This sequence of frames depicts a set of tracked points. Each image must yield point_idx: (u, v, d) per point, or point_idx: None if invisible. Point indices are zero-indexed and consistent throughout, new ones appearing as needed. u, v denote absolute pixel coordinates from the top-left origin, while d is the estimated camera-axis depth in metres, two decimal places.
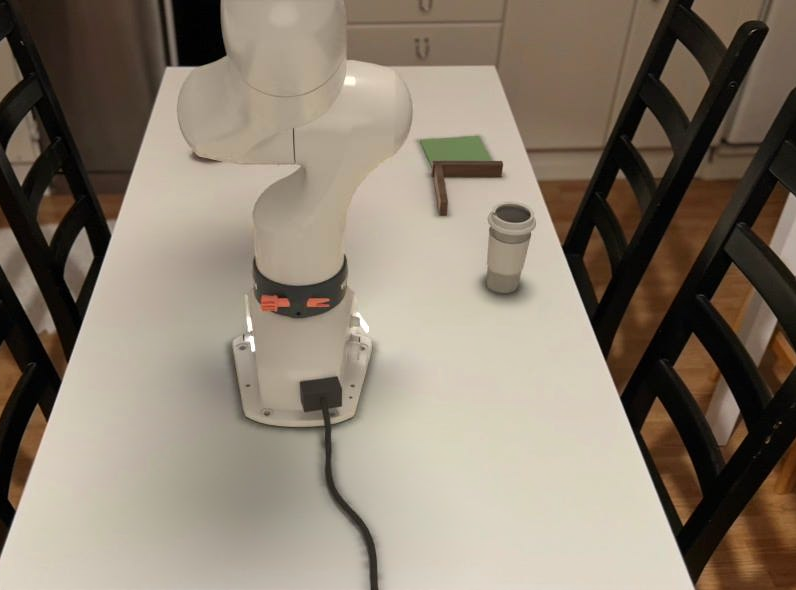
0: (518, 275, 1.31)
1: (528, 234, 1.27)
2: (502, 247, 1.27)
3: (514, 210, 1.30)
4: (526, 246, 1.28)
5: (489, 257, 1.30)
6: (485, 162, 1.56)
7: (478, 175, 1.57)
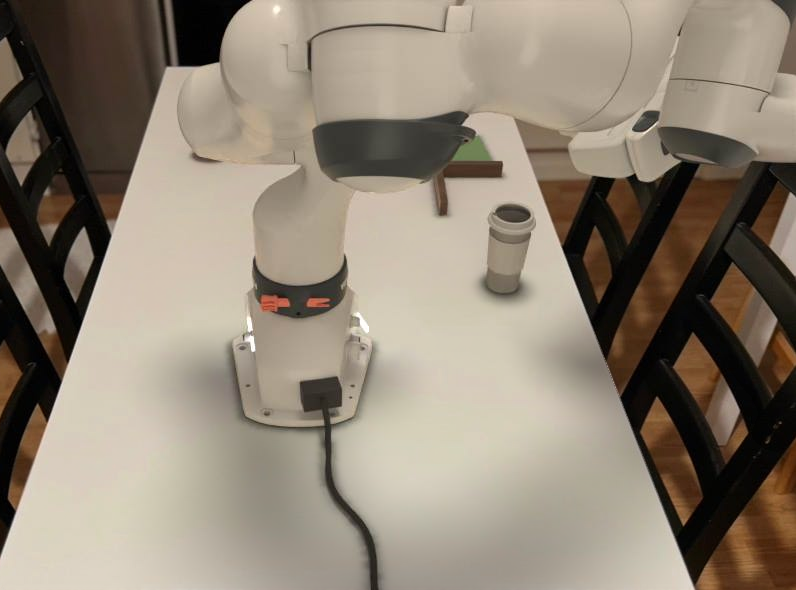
0: (518, 275, 1.31)
1: (528, 234, 1.27)
2: (502, 247, 1.27)
3: (514, 210, 1.30)
4: (526, 246, 1.28)
5: (489, 257, 1.30)
6: (485, 162, 1.56)
7: (478, 175, 1.57)
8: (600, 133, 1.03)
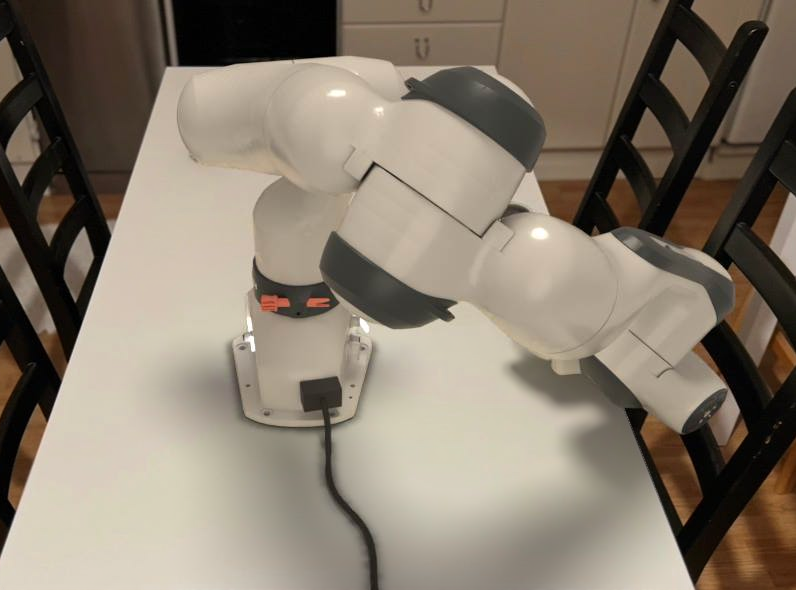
0: None
1: None
2: None
3: (514, 210, 1.30)
4: None
5: None
6: None
7: None
8: None
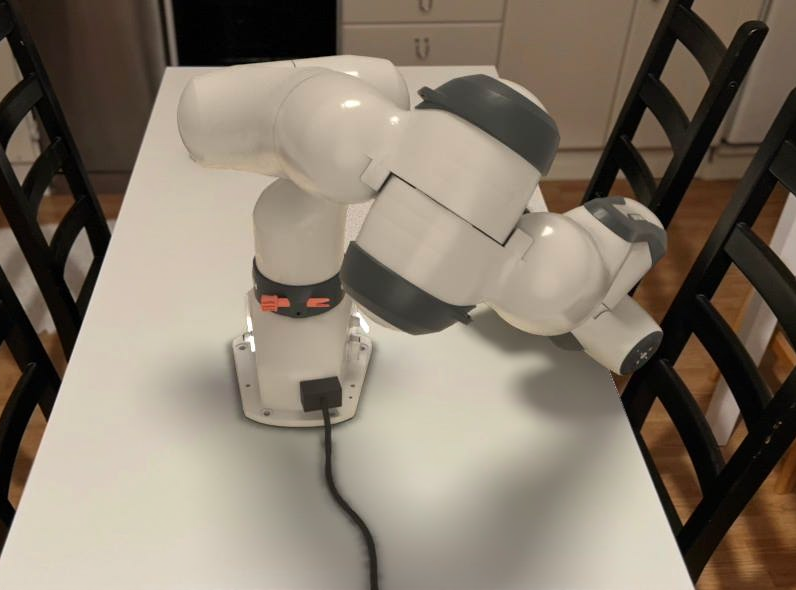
0: None
1: None
2: None
3: None
4: None
5: None
6: None
7: None
8: None
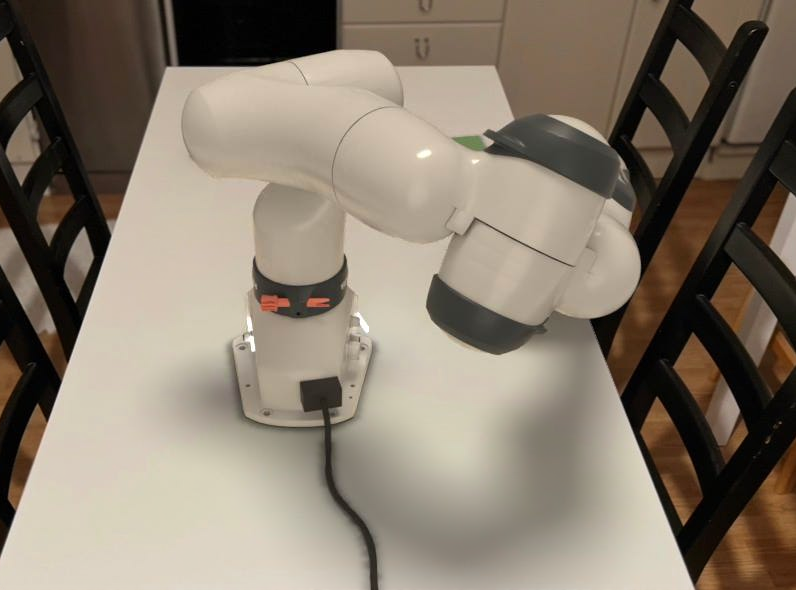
0: None
1: None
2: None
3: None
4: None
5: None
6: None
7: None
8: None
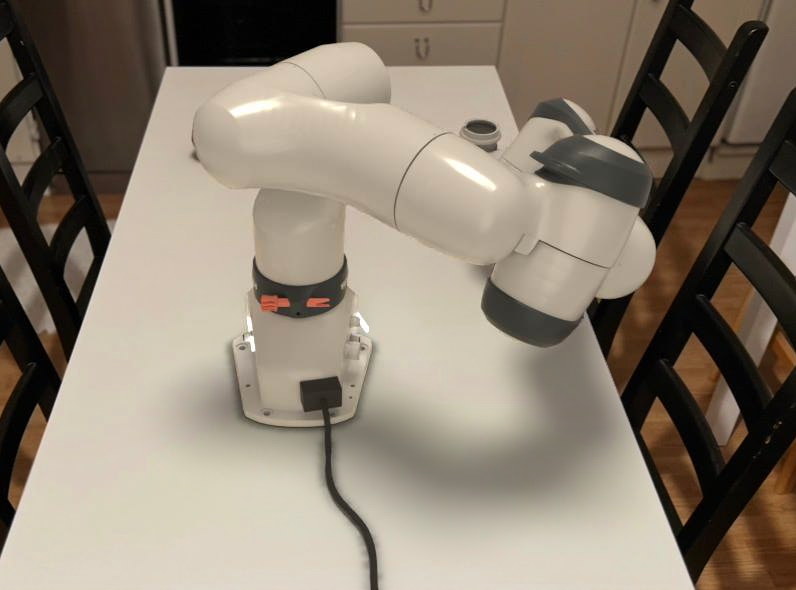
0: None
1: (494, 145, 1.45)
2: None
3: (483, 126, 1.49)
4: None
5: None
6: None
7: None
8: None
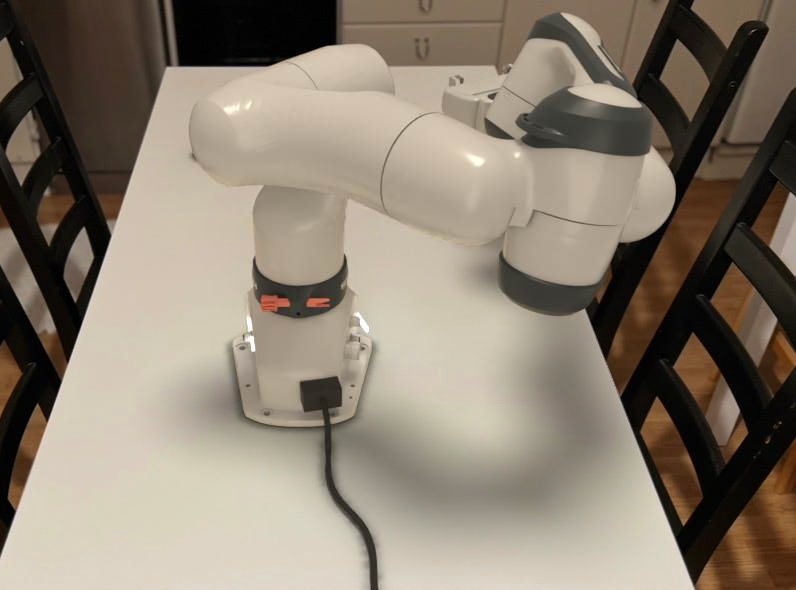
0: None
1: None
2: None
3: None
4: None
5: None
6: None
7: None
8: (469, 91, 1.33)
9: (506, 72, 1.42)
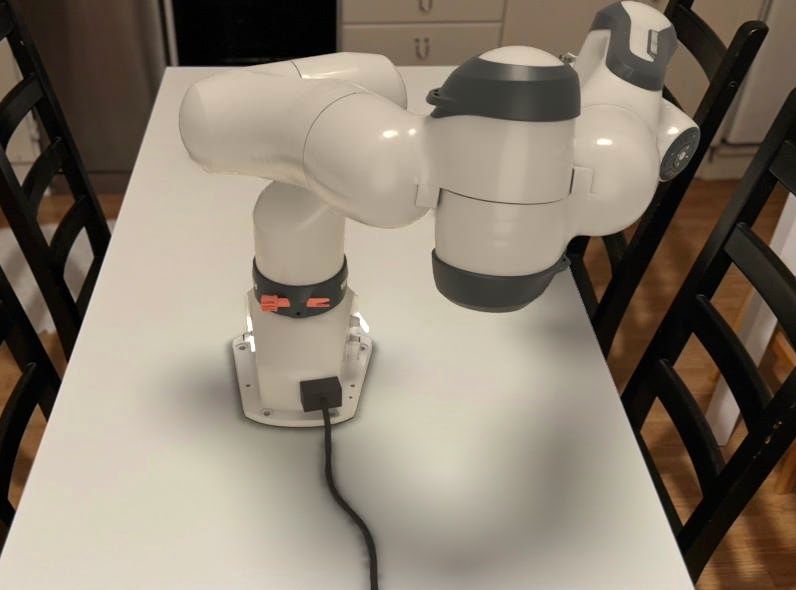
0: None
1: None
2: None
3: None
4: None
5: None
6: None
7: None
8: None
9: (565, 62, 1.29)
